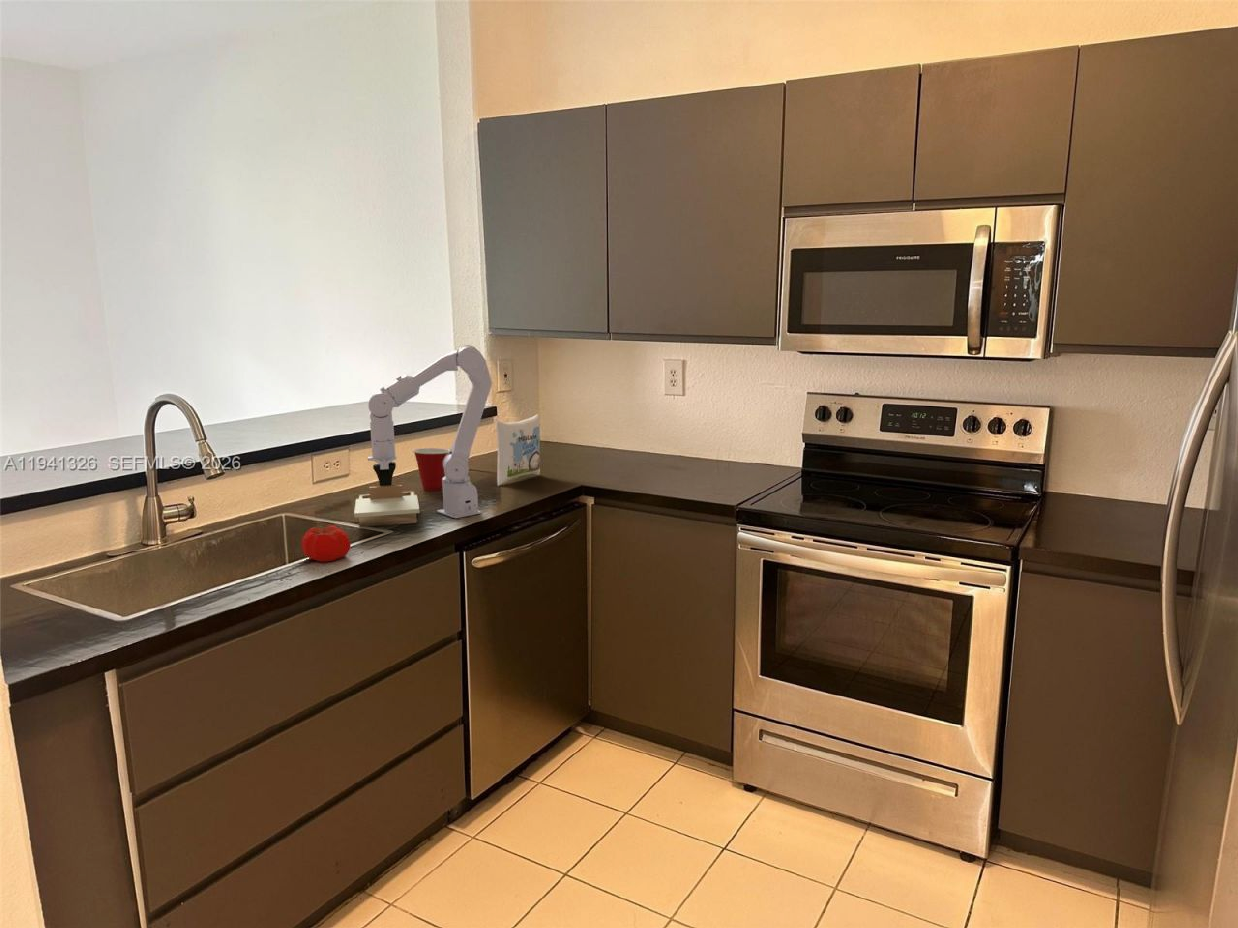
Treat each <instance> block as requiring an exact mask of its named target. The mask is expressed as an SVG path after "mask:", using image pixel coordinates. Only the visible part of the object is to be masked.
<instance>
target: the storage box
mask: <svg viewBox="0 0 1238 928" xmlns="http://www.w3.org/2000/svg"><path fill="white" fill-rule="evenodd" d="M409 495H415V492H414V491H403V496H409ZM364 498H370V493H367V494H358V499H364ZM417 521H418V520H417V513H411V514H397V515H383V516H369V517H358V527H359V528H360V527H363V528H364V527H377V526H388V525H389V526H390V525H391V526H392V525H401V524H402V525H403V524H415V523H418V522H417Z"/></svg>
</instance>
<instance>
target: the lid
mask: <svg viewBox="0 0 1238 928" xmlns="http://www.w3.org/2000/svg"><path fill="white" fill-rule="evenodd" d="M403 492H404V491H403V484H395V485H392V484H391V486H380V485H379V486H369V494H370V498H364V499H359V498H356V499H355V503H354V511H353V517H354V518H359V517H369V516H383V515H397V514H411V513H416V514H420V506H419V500H418V496H417V495H418V494H414V495H409V496H403Z"/></svg>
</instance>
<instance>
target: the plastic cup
mask: <svg viewBox="0 0 1238 928" xmlns="http://www.w3.org/2000/svg"><path fill="white" fill-rule="evenodd" d="M450 450H451V449H448V448H447V449H446V448H438V447H437V448H434V447H429V448H427V447H425V448H416V449H413V450H412V452H413V454H414V456H415V457H414V458H415V460H416V464H417V469H418V473H419V478H420V482H421V485H422V489H423V490H424V491H430V492H433V491H434V492H435V491H439V490H440V491H441V490H443V485H442V478H443V477H444V476H445V474H444V468H443V459H444V457H445V456H446V455H447V454H448V453H449V452H450Z"/></svg>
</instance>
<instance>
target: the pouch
mask: <svg viewBox="0 0 1238 928" xmlns="http://www.w3.org/2000/svg"><path fill="white" fill-rule="evenodd" d="M540 429H541V419H540V413H537V414H535V415H534V416H531V417H528V418H525V419H522V420H520V421H509V422H503V421H500V420H496V440H497V441H496V443H497V487H499V486H501V485H504V484H505V483H506V482H508V481H511V480H514V479H516V478H519V477H521V476H528V475H532V474H533V475H537V476H540V473H541V458H540V457H541V454H540V442H541V441H540V438H541V434H540V431H541V430H540Z"/></svg>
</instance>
